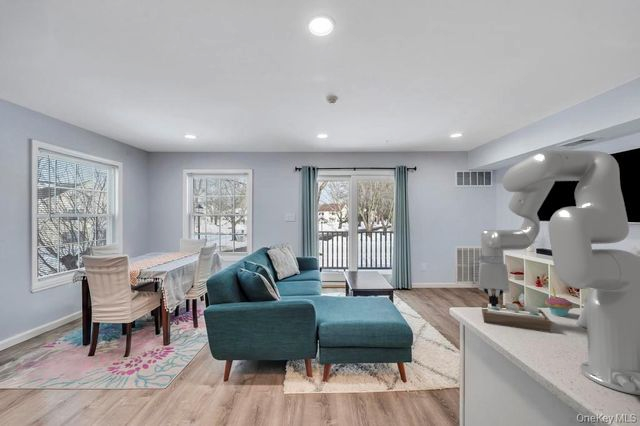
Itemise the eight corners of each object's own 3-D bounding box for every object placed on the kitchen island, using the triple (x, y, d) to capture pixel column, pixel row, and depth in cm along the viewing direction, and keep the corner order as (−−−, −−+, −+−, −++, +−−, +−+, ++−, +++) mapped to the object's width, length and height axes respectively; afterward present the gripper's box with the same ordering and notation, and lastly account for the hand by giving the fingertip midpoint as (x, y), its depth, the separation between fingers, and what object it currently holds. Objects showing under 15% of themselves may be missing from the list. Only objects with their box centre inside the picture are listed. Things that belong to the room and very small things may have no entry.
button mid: (519, 313, 103) (519, 306, 104) (506, 312, 105) (506, 305, 105) (517, 310, 107) (517, 304, 107) (505, 309, 109) (505, 302, 109)
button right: (539, 316, 101) (538, 309, 101) (525, 314, 102) (525, 307, 103) (536, 312, 104) (536, 306, 104) (523, 311, 106) (523, 304, 106)
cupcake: (554, 317, 109) (553, 287, 109) (540, 310, 117) (539, 283, 117) (578, 318, 107) (577, 288, 108) (563, 311, 115) (562, 283, 116)
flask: (610, 331, 94) (609, 302, 95) (586, 330, 96) (584, 301, 96) (594, 324, 101) (593, 297, 102) (571, 322, 103) (570, 296, 103)
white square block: (500, 314, 106) (500, 307, 106) (488, 312, 108) (488, 306, 108) (499, 311, 110) (499, 305, 110) (488, 310, 112) (487, 303, 112)
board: (551, 332, 94) (550, 317, 94) (484, 322, 103) (483, 309, 103) (541, 319, 106) (540, 306, 106) (482, 312, 116) (481, 300, 116)
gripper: (471, 260, 110) (472, 305, 109) (516, 262, 103) (517, 311, 102) (471, 258, 117) (472, 300, 116) (513, 260, 110) (514, 305, 109)
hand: (493, 305), depth 109 cm, fingers closed
